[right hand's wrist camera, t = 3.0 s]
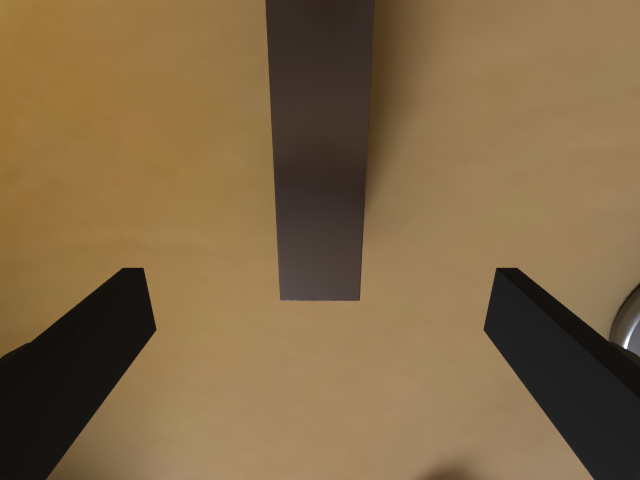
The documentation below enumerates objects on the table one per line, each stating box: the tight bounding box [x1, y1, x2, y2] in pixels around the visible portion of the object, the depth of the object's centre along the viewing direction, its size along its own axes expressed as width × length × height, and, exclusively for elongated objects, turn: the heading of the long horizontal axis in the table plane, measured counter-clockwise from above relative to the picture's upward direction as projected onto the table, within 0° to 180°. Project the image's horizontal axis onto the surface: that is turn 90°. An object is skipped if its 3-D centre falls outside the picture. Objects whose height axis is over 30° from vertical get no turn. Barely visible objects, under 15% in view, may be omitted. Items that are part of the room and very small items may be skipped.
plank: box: [266, 0, 374, 301], centre depth 19 cm, size 30×5×8 cm, turn 0°
